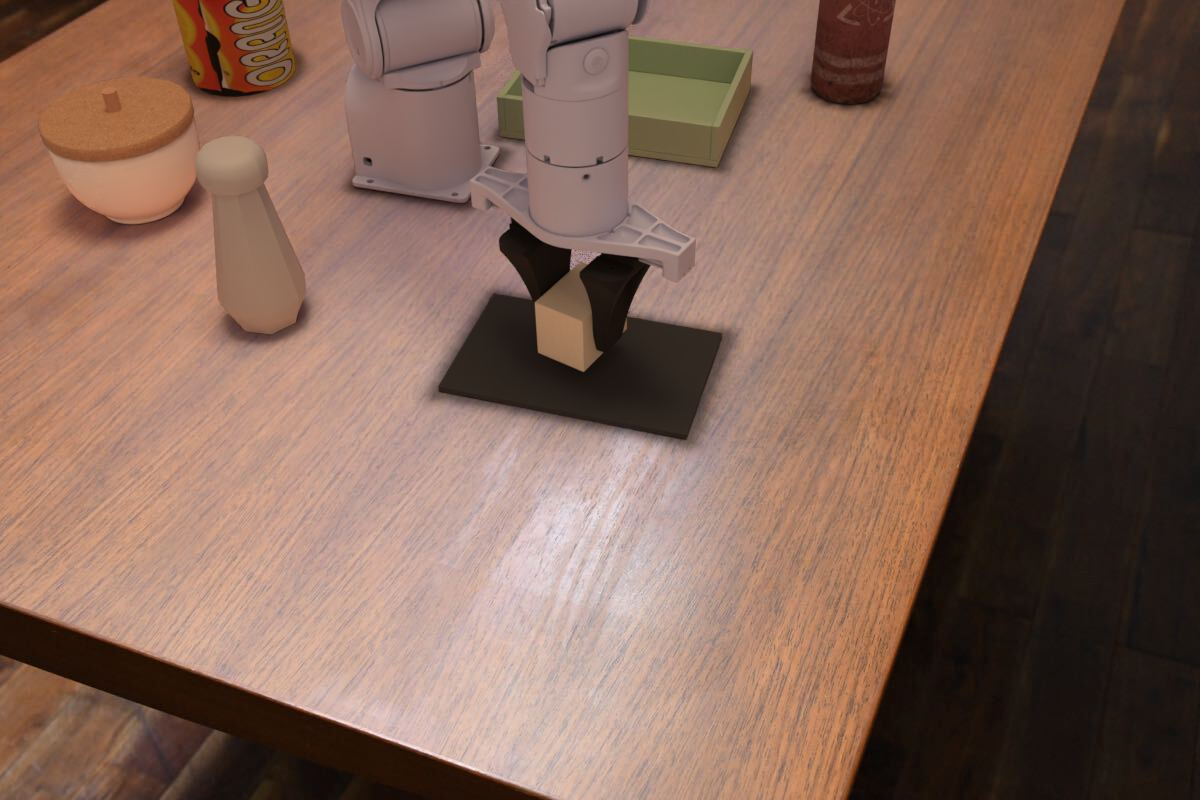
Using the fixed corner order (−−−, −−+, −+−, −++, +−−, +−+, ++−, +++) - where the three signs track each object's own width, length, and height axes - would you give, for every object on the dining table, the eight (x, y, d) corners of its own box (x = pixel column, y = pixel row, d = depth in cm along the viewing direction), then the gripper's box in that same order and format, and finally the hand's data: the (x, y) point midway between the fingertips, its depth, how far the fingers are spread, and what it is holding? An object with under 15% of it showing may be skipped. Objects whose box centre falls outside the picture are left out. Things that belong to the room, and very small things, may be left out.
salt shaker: (237, 353, 79) (189, 182, 70) (215, 305, 83) (166, 137, 74) (323, 325, 81) (287, 156, 72) (298, 280, 85) (260, 114, 76)
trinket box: (177, 249, 88) (142, 135, 82) (43, 234, 90) (-2, 121, 83) (238, 171, 96) (210, 61, 89) (114, 159, 97) (78, 50, 91)
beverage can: (174, 91, 106) (137, -45, 98) (220, 44, 112) (188, -87, 104) (270, 100, 104) (240, -37, 96) (311, 53, 111) (286, -79, 102)
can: (893, 81, 105) (920, -82, 96) (864, 112, 101) (889, -54, 92) (829, 64, 108) (849, -96, 98) (798, 94, 104) (815, -70, 94)
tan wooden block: (537, 352, 76) (534, 302, 73) (581, 311, 79) (580, 261, 76) (583, 372, 74) (582, 321, 72) (627, 329, 77) (627, 278, 75)
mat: (438, 391, 76) (437, 386, 76) (493, 297, 83) (493, 292, 83) (686, 439, 73) (686, 434, 72) (722, 337, 80) (722, 332, 79)
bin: (499, 136, 99) (496, 96, 97) (550, 63, 108) (548, 25, 106) (716, 167, 95) (719, 127, 93) (750, 89, 104) (753, 50, 102)
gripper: (727, 144, 66) (714, 336, 76) (513, 78, 72) (526, 263, 82) (660, 205, 62) (656, 400, 71) (439, 129, 68) (461, 318, 77)
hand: (582, 331), depth 76 cm, fingers closed on tan wooden block, 3 cm apart
